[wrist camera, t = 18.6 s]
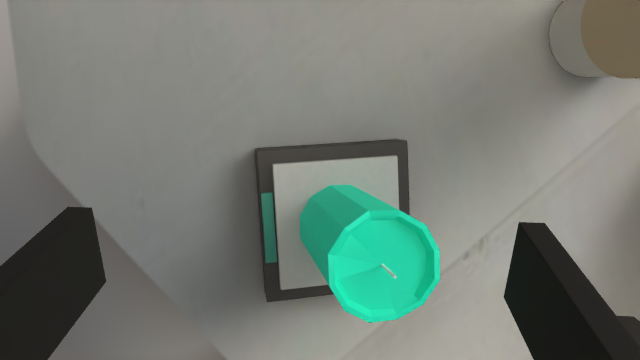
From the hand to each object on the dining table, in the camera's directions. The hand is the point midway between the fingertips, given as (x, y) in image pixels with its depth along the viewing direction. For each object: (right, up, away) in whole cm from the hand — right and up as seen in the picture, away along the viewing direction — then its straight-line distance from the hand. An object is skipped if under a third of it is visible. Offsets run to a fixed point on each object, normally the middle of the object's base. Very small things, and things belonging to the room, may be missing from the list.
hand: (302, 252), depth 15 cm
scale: (+1, 0, +23) cm, 23 cm away
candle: (+2, -1, +20) cm, 20 cm away
